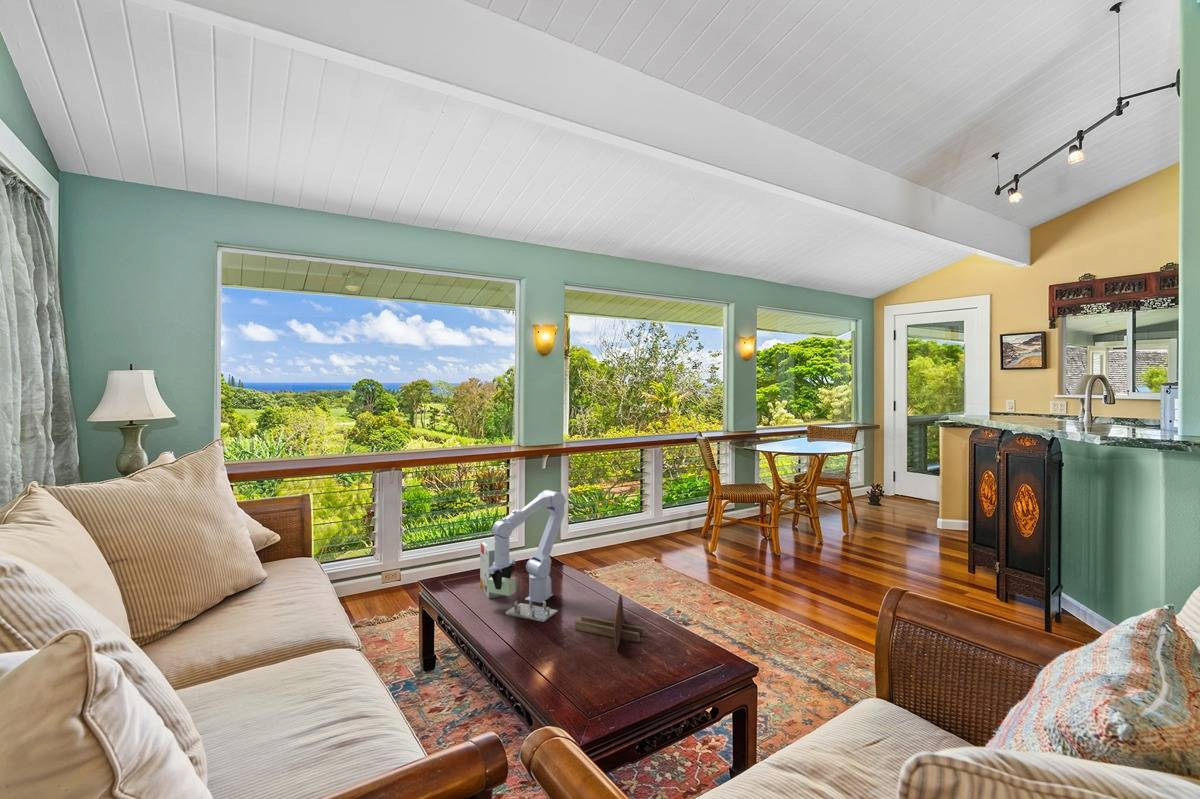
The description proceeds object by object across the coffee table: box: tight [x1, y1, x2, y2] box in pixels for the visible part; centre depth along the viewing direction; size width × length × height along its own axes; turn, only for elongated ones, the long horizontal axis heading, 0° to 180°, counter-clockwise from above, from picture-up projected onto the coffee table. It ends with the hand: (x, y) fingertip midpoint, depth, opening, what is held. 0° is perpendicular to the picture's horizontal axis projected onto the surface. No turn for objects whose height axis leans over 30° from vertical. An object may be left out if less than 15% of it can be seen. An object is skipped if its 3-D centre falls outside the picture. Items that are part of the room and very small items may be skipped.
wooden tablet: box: [613, 594, 625, 650], centre depth 190 cm, size 26×2×10 cm, turn 174°
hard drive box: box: [479, 539, 506, 599], centre depth 233 cm, size 16×8×20 cm, turn 25°
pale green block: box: [488, 577, 517, 597], centre depth 214 cm, size 10×4×5 cm, turn 63°
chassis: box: [505, 599, 559, 623], centre depth 209 cm, size 17×10×4 cm, turn 64°
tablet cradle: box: [574, 615, 645, 643], centre depth 192 cm, size 6×24×3 cm, turn 64°
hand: (502, 587), depth 214 cm, fingers closed on pale green block, 4 cm apart
